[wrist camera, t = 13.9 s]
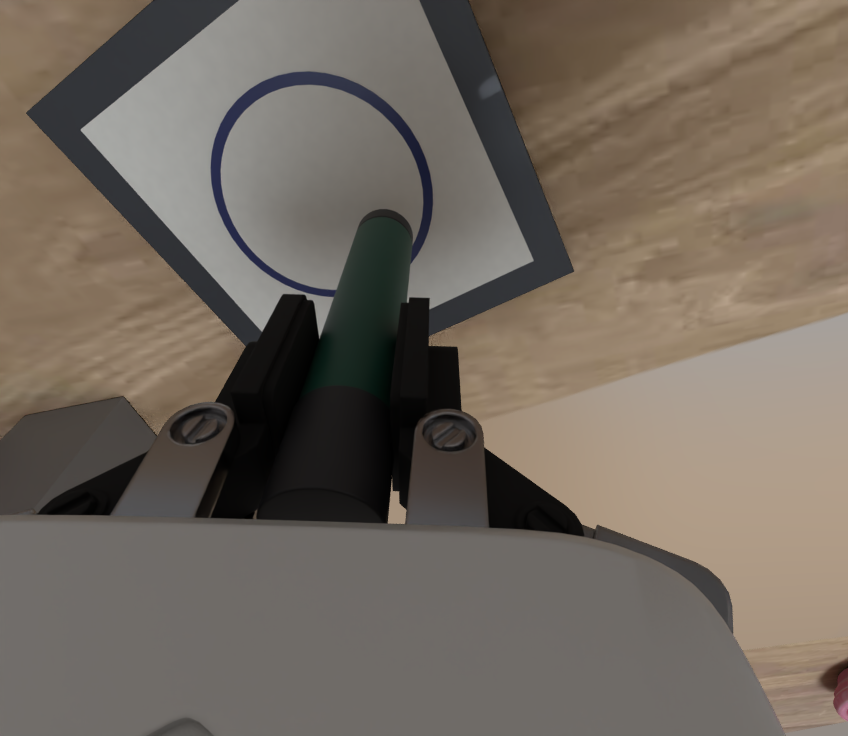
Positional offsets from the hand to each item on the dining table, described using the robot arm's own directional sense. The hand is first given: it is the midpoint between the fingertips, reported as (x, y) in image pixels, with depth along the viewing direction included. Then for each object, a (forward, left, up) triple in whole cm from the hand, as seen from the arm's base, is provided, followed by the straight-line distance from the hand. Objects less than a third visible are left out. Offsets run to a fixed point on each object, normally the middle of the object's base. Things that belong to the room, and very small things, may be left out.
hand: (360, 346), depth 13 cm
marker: (0, 0, -8) cm, 8 cm away
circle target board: (-2, -2, -10) cm, 10 cm away
